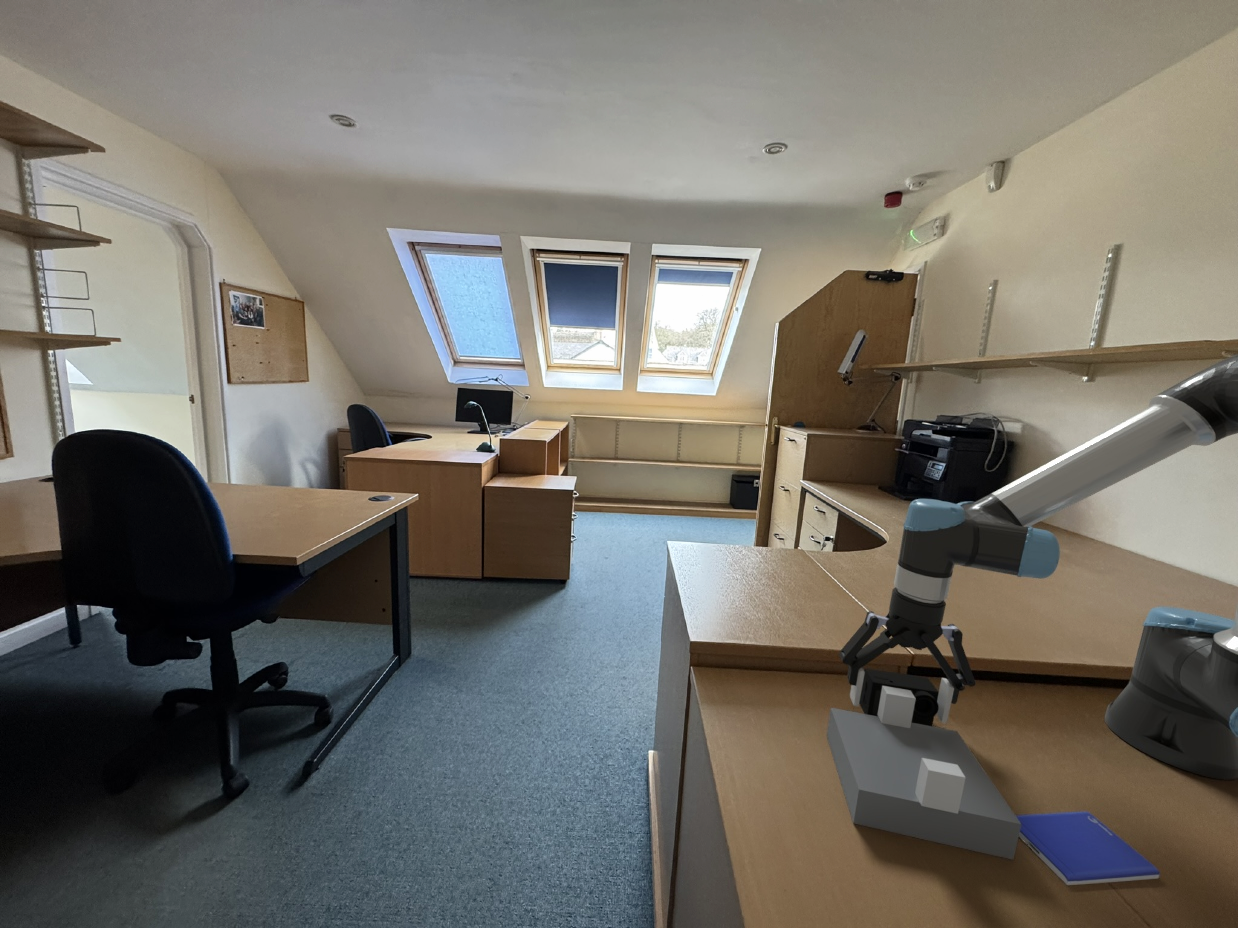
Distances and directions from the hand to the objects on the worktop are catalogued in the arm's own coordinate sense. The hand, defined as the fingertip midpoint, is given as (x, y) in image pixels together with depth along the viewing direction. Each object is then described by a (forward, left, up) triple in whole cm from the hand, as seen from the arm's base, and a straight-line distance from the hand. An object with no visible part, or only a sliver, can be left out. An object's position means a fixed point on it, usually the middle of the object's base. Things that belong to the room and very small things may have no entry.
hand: (896, 709), depth 81 cm
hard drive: (-14, +20, -2) cm, 25 cm away
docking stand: (+4, +16, -2) cm, 17 cm away
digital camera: (0, 0, -2) cm, 2 cm away
